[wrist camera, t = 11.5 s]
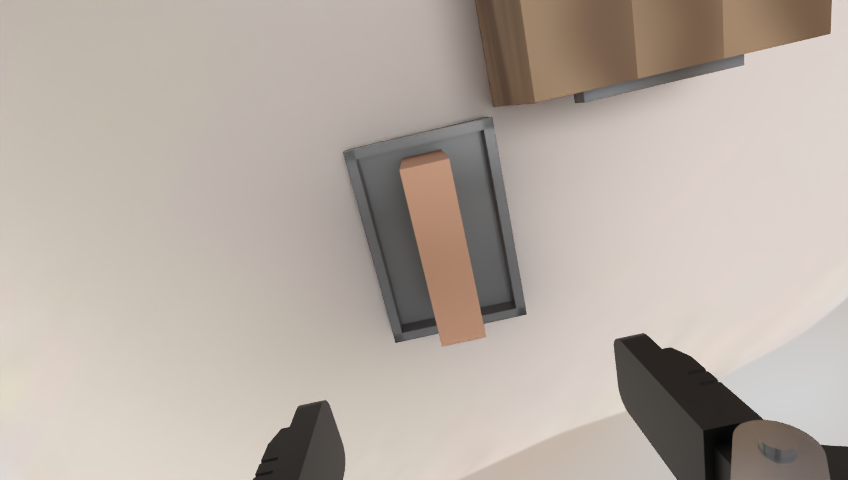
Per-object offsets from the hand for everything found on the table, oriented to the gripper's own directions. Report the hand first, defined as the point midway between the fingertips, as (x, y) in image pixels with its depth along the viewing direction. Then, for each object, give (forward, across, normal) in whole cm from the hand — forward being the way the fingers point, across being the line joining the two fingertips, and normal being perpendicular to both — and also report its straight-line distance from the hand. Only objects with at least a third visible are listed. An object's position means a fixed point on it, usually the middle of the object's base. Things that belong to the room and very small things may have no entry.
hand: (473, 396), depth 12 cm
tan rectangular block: (+17, 0, 0) cm, 17 cm away
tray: (+18, 0, 0) cm, 18 cm away
